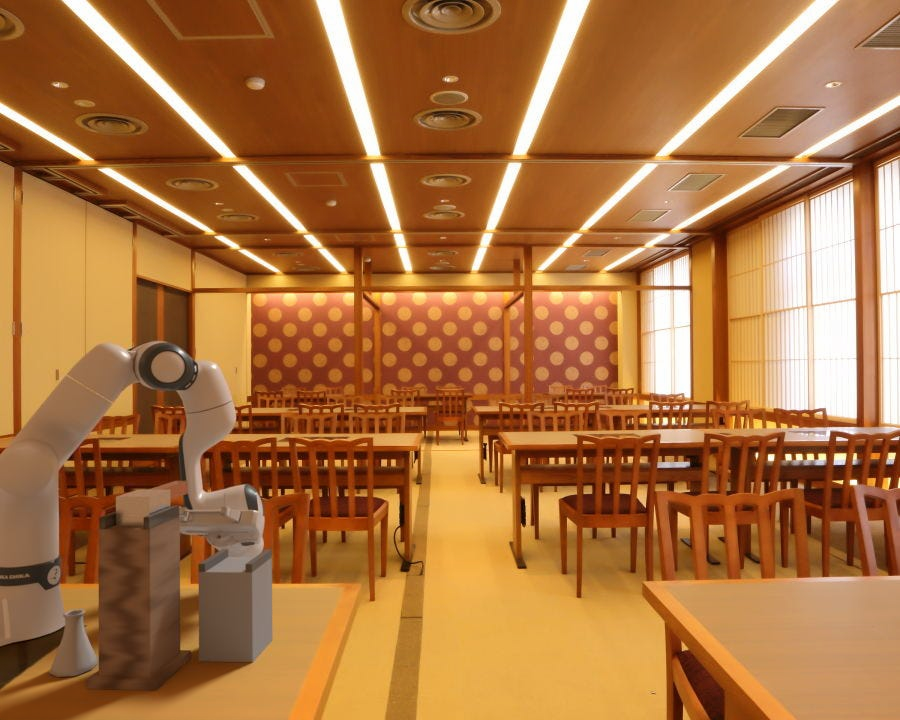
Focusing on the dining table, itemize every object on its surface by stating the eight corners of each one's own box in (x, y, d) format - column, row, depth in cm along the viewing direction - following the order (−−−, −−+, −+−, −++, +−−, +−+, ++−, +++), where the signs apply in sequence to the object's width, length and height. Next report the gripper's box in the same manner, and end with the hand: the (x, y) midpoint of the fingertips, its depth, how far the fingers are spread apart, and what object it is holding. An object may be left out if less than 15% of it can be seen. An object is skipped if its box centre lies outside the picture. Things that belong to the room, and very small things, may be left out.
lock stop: (115, 525, 111) (115, 496, 111) (167, 506, 128) (167, 480, 128) (149, 526, 111) (149, 496, 111) (196, 506, 128) (196, 480, 128)
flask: (76, 680, 110) (76, 621, 111) (40, 676, 112) (40, 618, 112) (106, 661, 117) (106, 606, 118) (72, 658, 119) (72, 604, 119)
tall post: (86, 688, 107) (86, 518, 108) (128, 657, 119) (127, 504, 120) (155, 690, 106) (155, 518, 107) (191, 658, 118) (190, 504, 119)
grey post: (199, 661, 117) (198, 563, 117) (222, 638, 127) (222, 549, 127) (252, 662, 116) (251, 564, 117) (272, 639, 126) (271, 549, 127)
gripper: (186, 516, 151) (158, 495, 139) (271, 516, 149) (251, 495, 137) (179, 543, 147) (150, 524, 136) (266, 544, 146) (245, 525, 134)
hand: (202, 510), depth 136 cm, fingers open, 8 cm apart
